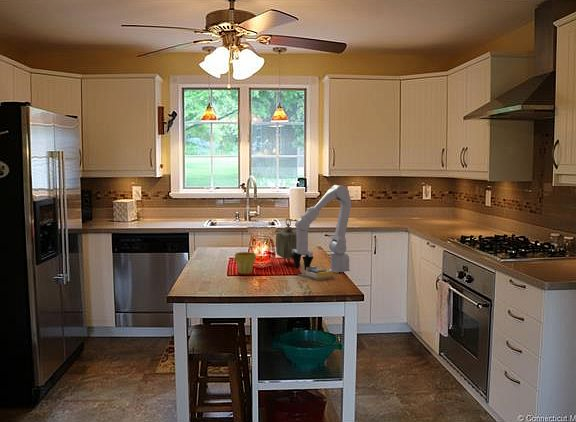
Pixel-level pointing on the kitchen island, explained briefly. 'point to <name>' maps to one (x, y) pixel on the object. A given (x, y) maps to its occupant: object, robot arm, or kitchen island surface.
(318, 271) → the trolley
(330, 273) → the loading dock
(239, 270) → the plant pot
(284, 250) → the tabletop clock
